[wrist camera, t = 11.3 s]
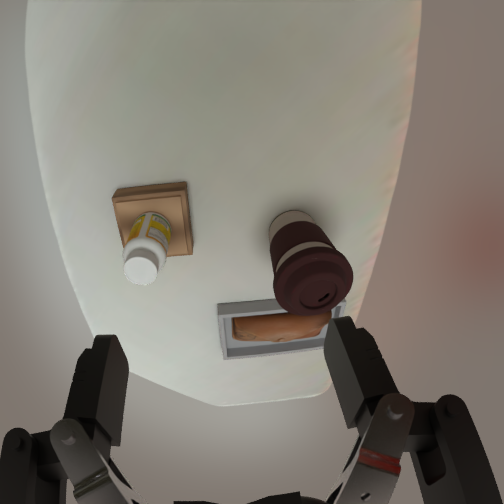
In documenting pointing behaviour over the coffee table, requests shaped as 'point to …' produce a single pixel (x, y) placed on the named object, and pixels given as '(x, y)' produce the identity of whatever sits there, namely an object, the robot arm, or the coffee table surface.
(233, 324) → the brown elongated piece
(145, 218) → the supplement bottle
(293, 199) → the coffee table surface
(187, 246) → the walnut base
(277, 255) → the coffee cup
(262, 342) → the tray
